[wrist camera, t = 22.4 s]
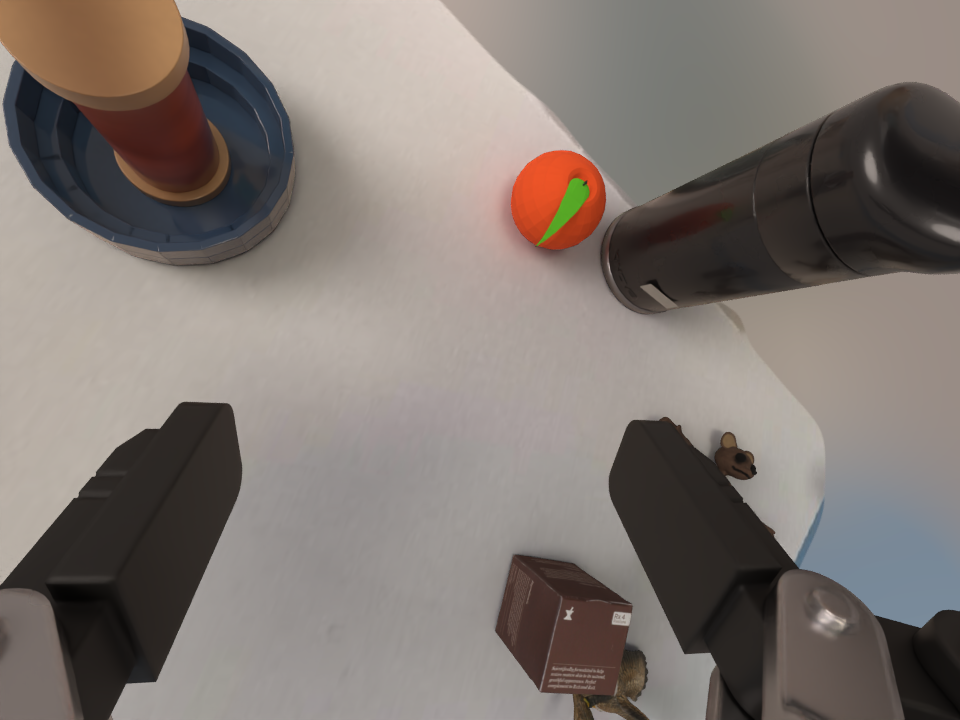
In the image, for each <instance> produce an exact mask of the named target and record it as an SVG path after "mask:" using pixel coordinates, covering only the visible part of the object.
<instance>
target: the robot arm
mask: <svg viewBox="0 0 960 720" xmlns="http://www.w3.org/2000/svg"><path fill="white" fill-rule="evenodd" d="M602 267H603V272H604V275H605V278H606V281H607V283H608V286H609V287H610V289H611V291H612V292H613V294H614V295H615V297H616V298H617V299H618V300H619V301H620V302H621V303H622V304H623V305H625V306H626V307H628V308H629V309H631V310H633V311H635V312H639V313H643V314H654V313H660V312H664V311H667V310H671V309H677V308H683V307H690V306H696V305H703V304H709V303H715V302H721V301H726V300H733V299H739V298H745V297H751V296H757V295H763V294H769V293H775V292H781V291H787V290H793V289H799V288H806V287H811V286H818V285H822V284H828V283H834V282H841V281H847V280H853V279H859V278H865V277H871V276H877V275H884V274H890V273H897V272H913V273H922V274H958V273H960V103H959V102H958V101H956V100H955V99H954V98H952V97H951V96H949V95H948V94H947V93H945V92H943V91H941V90H939V89H938V88H935V87H933V86H930V85H927V84H923V83H917V82H903V83H898V84H894V85H891V86H886V87H884V88H881V89H879V90H877V91H874V92H872V93H870V94H868V95H866V96H864V97H862V98H859V99H858V100H856V101H854V102H851V103H850V104H847V105H845V106H843V107H841V108H839V109H837V110H835V111H833V112H831V113H829V114H827V115H825V116H823V117H821V118H819V119H817V120H815V121H813V122H811V123H809V124H806V125H804V126H803V127H800V128H798V129H796V130H794V131H792V132H790V133H788V134H786V135H784V136H783V137H781V138H779V139H776V140H775V141H773V142H770V143H768V144H766V145H764V146H762V147H760V148H758V149H756V150H754V151H752V152H750V153H748V154H746V155H744V156H742V157H740V158H738V159H736V160H733V161H732V162H730V163H727V164H725V165H723V166H721V167H719V168H717V169H715V170H713V171H711V172H709V173H707V174H705V175H703V176H701V177H699V178H697V179H695V180H693V181H691V182H688V183H686V184H684V185H683V186H680V187H678V188H676V189H674V190H672V191H670V192H668V193H666V194H664V195H662V196H660V197H657V198H655V199H653V200H652V201H649V202H648V203H646V204H643V205H641V206H638V207H635V208H632V209H630V210H628V211H626V212H624V213H622V214H621V215H620V216H618V217H617V218H616V219H615V220H614V221H613V222H612V224H611V225H610V227H609V229H608V230H607V233H606V235H605V238H604V241H603V246H602ZM241 480H242V462H241V456H240V450H239V444H238V437H237V431H236V425H235V419H234V413H233V409H232V407H231V406H230V404H228V403H203V402H182V403H180V404H179V405H178V406H177V407H176V409H175V410H174V411H173V413H172V414H171V415H170V416H169V418H168V419H167V420H166V422H165V423H164V424H163V426H162V427H161V428H160V429H145V430H143V431H142V432H140V433H139V434H137V435H136V436H134V437H133V438H131V439H130V440H128V441H126V442H125V443H123V444H122V445H120V446H119V447H117V448H116V449H115V450H114V451H113V453H112V454H111V455H110V456H109V457H108V458H107V460H106V461H105V462H104V463H103V464H102V466H101V467H100V468H99V469H98V470H97V472H96V476H95V477H91V479H90V480H89V481H88V482H87V483H86V485H85V486H84V487H83V488H82V489H81V491H80V492H79V496H78V498H74V499H73V500H72V501H71V502H70V504H69V505H68V506H67V507H66V508H65V510H64V511H63V512H62V513H61V514H60V515H59V517H58V518H57V519H56V520H55V521H54V523H53V524H52V525H51V526H50V527H49V529H48V530H47V531H46V532H45V533H44V534H43V536H42V537H41V538H40V539H39V540H38V542H37V543H36V544H35V545H34V546H33V548H32V549H31V550H30V551H29V552H28V553H27V555H26V556H25V557H24V558H23V559H22V561H21V562H20V563H19V564H18V565H17V567H16V568H15V569H14V570H13V571H12V572H11V574H10V575H9V576H8V577H7V578H6V580H5V581H4V582H3V583H2V584H1V585H0V720H113V718H112V716H111V713H112V711H113V709H114V707H115V705H116V703H117V701H118V699H119V697H120V695H121V693H122V691H123V689H124V687H125V685H126V684H127V683H145V682H156V681H157V679H158V676H159V674H160V672H161V669H162V667H163V665H164V663H165V660H166V658H167V656H168V654H169V651H170V649H171V647H172V645H173V642H174V640H175V638H176V635H177V633H178V631H179V629H180V626H181V624H182V622H183V620H184V617H185V615H186V613H187V611H188V608H189V606H190V604H191V602H192V599H193V597H194V595H195V592H196V590H197V588H198V586H199V583H200V581H201V579H202V577H203V574H204V572H205V570H206V568H207V565H208V563H209V561H210V558H211V556H212V554H213V552H214V549H215V547H216V545H217V543H218V540H219V538H220V536H221V534H222V531H223V529H224V527H225V525H226V522H227V520H228V518H229V515H230V513H231V511H232V509H233V506H234V504H235V502H236V500H237V497H238V494H239V491H240V486H241ZM729 483H730V482H729V481H728V479H727V478H726V477H725V476H724V474H723V473H722V472H721V471H720V469H719V468H718V467H717V466H716V464H715V463H714V462H713V461H712V460H710V459H709V458H708V457H706V456H705V455H704V454H702V453H701V452H700V451H699V450H697V449H696V448H695V447H693V446H692V445H688V444H687V442H686V441H685V440H684V438H683V437H682V436H681V435H680V433H679V432H678V431H677V429H676V428H675V427H674V426H673V424H671V423H670V422H668V421H650V420H633V421H631V422H630V423H629V424H628V426H627V428H626V431H625V433H624V436H623V439H622V441H621V444H620V447H619V450H618V452H617V455H616V458H615V460H614V463H613V466H612V468H611V471H610V475H609V492H610V497H611V500H612V502H613V505H614V507H615V509H616V511H617V513H618V515H619V517H620V519H621V521H622V524H623V526H624V528H625V530H626V532H627V534H628V536H629V538H630V540H631V543H632V545H633V547H634V549H635V551H636V553H637V555H638V557H639V559H640V561H641V564H642V566H643V568H644V570H645V572H646V574H647V576H648V578H649V580H650V582H651V585H652V587H653V589H654V591H655V593H656V595H657V597H658V599H659V601H660V604H661V606H662V608H663V610H664V612H665V614H666V616H667V618H668V620H669V622H670V625H671V627H672V629H673V631H674V633H675V635H676V637H677V639H678V641H679V643H680V646H681V648H682V650H683V652H684V654H695V653H711V655H712V657H713V659H714V661H715V663H716V666H715V668H714V669H713V671H712V673H711V677H710V684H709V693H708V702H707V710H706V719H705V720H960V611H955V610H942V611H940V612H938V613H937V614H936V615H935V616H934V617H932V618H931V619H930V620H929V621H928V622H927V623H926V624H925V625H924V626H923V627H922V628H919V627H915V626H911V625H908V624H904V623H901V622H897V621H893V620H890V619H886V618H882V617H879V616H875V615H873V613H872V612H871V611H870V610H869V609H868V608H867V606H866V605H865V604H864V603H863V602H862V601H861V600H860V599H858V598H857V597H856V596H855V595H854V594H853V593H851V592H850V591H849V590H847V589H846V588H845V587H843V586H842V585H840V584H838V583H837V582H835V581H833V580H832V579H830V578H827V577H825V576H823V575H821V574H818V573H815V572H812V571H808V570H802V569H799V568H798V567H797V566H796V564H795V563H794V562H793V561H792V559H791V558H790V557H789V556H788V554H787V553H786V552H785V551H784V549H783V548H782V547H781V546H780V544H779V543H778V542H777V541H776V539H775V538H774V537H773V536H772V534H771V533H770V532H769V531H768V529H767V528H766V527H765V526H764V524H763V523H762V522H761V521H760V519H759V518H758V517H757V516H756V514H755V513H754V512H753V511H752V509H751V508H750V507H749V506H748V504H747V503H743V498H742V497H741V496H740V494H739V493H738V492H737V491H736V489H735V488H734V487H733V486H730V484H729Z"/></svg>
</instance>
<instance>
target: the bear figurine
mask: <svg viewBox="0 0 960 720" xmlns="http://www.w3.org/2000/svg"><path fill="white" fill-rule="evenodd" d="M659 421H668V422H670V423H671V424H673V426H674V427H675V428H676V429H677V431H678V432H679V433H680V435H681V436H682V437H683V438H684V440H685V441H686V442H687V444H688V445H692V444H691V443H690V441H689V440H688V439H687V438H686V437H685V436H684V435H683V433H682V430H681V426H680V425H678V426H676V425H675V424H674V423H673V422H672V421H671V420H670V419H669V418H668V417H663V418H661V419H660V420H659ZM720 444H721V446H722V447H721V448H720V449H718V451H717V452H716V453H715V461H716V464H717V466H718V468H719V469H720V471H721V472H722V473H723V474H724V476H726V475H730V476H732V477H734V478H737V479H740V480H747V479H751V478H752V477H753V476H754V475H756V474H757V472H756V467H755V466H754V465H753V463H754V456H753V454H752V453H751V452H749V451H743V450H741V449H738V448H737V444H736V438H735V436H734V434H732V433H731V432H726V433H724V434H723V436H722V438H721V442H720ZM692 446H693V445H692ZM693 447H694V446H693ZM729 484H730V483H729ZM730 486H732V485H731V484H730ZM763 524H764V523H763ZM764 526H765V527H766V528H767V529H768V531H769V532H770V533H771V534H772V536H773V537H774V535H773V534H775V531H774V530H772V529H771V528H769V527H768V526H766V525H765V524H764Z"/></svg>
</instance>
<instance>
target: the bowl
mask: <svg viewBox="0 0 960 720" xmlns="http://www.w3.org/2000/svg"><path fill="white" fill-rule="evenodd" d="M181 18H182V21H183V24H184V27H185V30H186V33H187V37H188V42H189V62H188V67H187V70H188V73H189V75H190V78H191V80H192V83H193V85H194V88H195V90H196V93H197V95H198V98H199V101H200V103H201V106H202V108H203V111H204V113H205V116H206V118H207V119H208V120H209V121H210V122H211V123H212V124H213V125H214V126H215V127H216V128H217V129H218V130H219V132H220V133H221V135H222V137H223V138H224V140H225V143H226V145H227V148H228V150H229V154H230V158H231V173H230V177H229V180H228V182H227V184H226V186H225V188H224V189H223V190H222V191H221V192H220V193H219V194H218V195H217V196H216V197H214V198H213V199H211V200H210V201H208V202H205V203H203V204H200V205H195V206H188V207H179V206H172V205H167V204H164V203H161V202H158V201H156V200H153V199H151V198H150V197H148V196H146V195H145V194H143V193H142V192H141V191H139V190H138V189H137V188H136V187H135V186H134V185H133V184H132V183H131V182H130V181H129V180H128V179H127V177H126V176H125V175H124V174H123V172H122V171H121V169H120V168H119V166H118V163H117V161H116V158H115V155H114V149H113V148H112V146H111V145H110V144H109V143H108V142H107V141H106V140H105V138H104V137H103V136H102V135H101V134H100V133H99V132H98V130H97V129H96V128H95V127H94V126H93V125H92V124H91V122H90V121H89V120H88V119H87V118H86V117H85V116H84V114H83V113H82V112H81V111H80V110H79V109H78V108H77V106H76V105H75V104H74V103H73V102H72V101H69V100H67V99H65V98H63V97H61V96H59V95H57V94H55V93H54V92H52V91H51V90H49V89H47V88H46V87H44V86H43V85H42V84H41V83H39V82H38V81H37V80H35V79H34V78H33V77H32V76H31V75H30V74H29V73H28V72H27V71H26V70H25V69H24V68H23V67H22V66H21V65H20V64H19V63H18V61H17V60H15V61H14V63H13V65H12V68H11V72H10V76H9V80H8V83H7V87H6V91H5V95H4V99H3V104H2V105H3V111H4V117H5V123H6V130H7V136H8V142H9V146H10V148H11V150H12V152H13V153H14V155H15V157H16V159H17V160H18V162H19V164H20V166H21V167H22V169H23V171H24V173H25V174H26V176H27V178H28V180H29V181H30V183H31V185H32V186H33V187H34V188H35V189H36V190H37V191H38V192H39V193H40V194H41V195H42V196H43V197H45V198H46V199H47V200H48V201H49V202H50V203H51V204H52V205H53V206H54V207H55V208H56V209H57V210H59V211H60V212H61V213H62V214H63V215H64V216H65V217H66V218H67V219H69V220H70V221H72V222H73V223H75V224H77V225H78V226H80V227H81V228H83V229H85V230H86V231H88V232H89V233H91V234H93V235H94V236H96V237H97V238H99V239H101V240H103V241H105V242H107V243H109V244H111V245H113V246H115V247H117V248H119V249H121V250H123V251H124V252H126V253H128V254H130V255H133V256H135V257H139V258H143V259H148V260H153V261H157V262H162V263H166V264H171V265H189V264H209V263H215V262H218V261H221V260H224V259H227V258H230V257H232V256H235V255H238V254H241V253H244V252H246V251H248V250H249V249H251V248H252V247H253V246H255V245H256V244H257V243H258V242H260V241H261V240H262V239H264V238H265V237H266V236H268V235H269V234H270V233H271V232H272V231H274V229H275V227H276V226H277V224H278V223H279V221H280V219H281V218H282V216H283V215H284V213H285V211H286V210H287V208H288V207H289V204H290V199H291V194H292V190H293V185H294V180H295V161H294V149H293V142H292V135H291V128H290V121H289V117H288V115H287V113H286V111H285V109H284V107H283V104H282V102H281V100H280V98H279V96H278V94H277V92H276V90H275V88H274V86H273V84H272V83H271V81H270V80H269V79H268V78H267V77H266V76H265V75H264V73H263V72H262V71H261V70H260V69H259V68H258V67H257V65H256V64H255V63H254V62H253V61H252V60H251V59H250V57H249V56H248V55H247V54H246V53H245V52H244V51H242V50H241V49H239V48H238V47H237V46H235V45H234V44H232V43H231V42H229V41H228V40H226V39H225V38H224V37H222V36H221V35H219V34H218V33H216V32H215V31H213V30H212V29H211V28H208V27H207V26H204V25H202V24H199V23H196V22H194V21H191V20H189V19H186V18H183V17H181Z"/></svg>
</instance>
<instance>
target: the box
mask: <svg viewBox="0 0 960 720" xmlns="http://www.w3.org/2000/svg"><path fill="white" fill-rule="evenodd" d="M632 606H633V605H632V604H631V603H629V602H627V601H626V600H624V599H623V598H622V597H620V596H619V595H617V594H616V593H615V592H613V591H612V590H610V589H609V588H607V587H606V586H605V585H603V584H602V583H600V582H599V581H597V580H596V579H595V578H593V577H592V576H590V575H589V574H587V573H586V572H585V571H583V570H582V569H580V568H579V567H578V566H576V565H575V564H573V563H566V562H560V561H554V560H548V559H541V558H534V557H528V556H521V555H514V556H513V559H512V564H511V568H510V572H509V576H508V580H507V585H506V589H505V593H504V597H503V601H502V605H501V609H500V613H499V617H498V621H497V626H496V630H495V631H496V633H497V634H498V636H499V637H500V638H501V640H502V641H503V642H504V644H505V645H506V646H507V648H508V649H509V651H510V652H511V653H512V654H513V656H514V657H515V659H516V660H517V661H518V662H519V664H520V665H521V666H522V668H523V669H524V670H525V672H526V673H527V675H528V676H529V678H530V679H531V680H532V681H533V682H534V683H535V685H536V686H537V688H538V690H539V691H540V692H544V693H565V694H591V695H614V694H615V690H616V685H617V680H618V675H619V671H620V666H621V661H622V656H623V651H624V646H625V642H626V637H627V633H628V628H629V624H630V619H631V613H632Z"/></svg>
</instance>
